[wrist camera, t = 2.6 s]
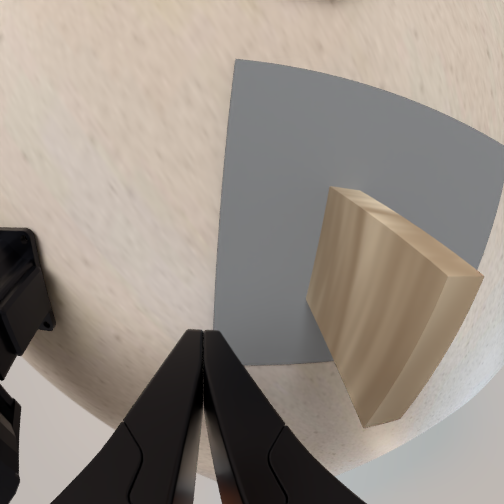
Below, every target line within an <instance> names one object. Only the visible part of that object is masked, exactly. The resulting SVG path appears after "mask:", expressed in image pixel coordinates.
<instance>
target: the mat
mask: <svg viewBox="0 0 504 504" xmlns="http://www.w3.org/2000/svg"><path fill="white" fill-rule="evenodd" d="M503 184H504V145H502V144H500V143H499V142H497V141H495V140H494V139H492V138H490V137H488V136H487V135H485V134H483V133H481V132H479V131H478V130H476V129H474V128H472V127H470V126H468V125H466V124H464V123H462V122H460V121H458V120H456V119H454V118H452V117H450V116H448V115H445V114H443V113H441V112H439V111H437V110H434V109H432V108H430V107H427V106H425V105H422V104H420V103H417V102H415V101H412V100H410V99H407V98H405V97H402V96H399V95H396V94H394V93H391V92H388V91H385V90H382V89H379V88H376V87H373V86H369V85H366V84H363V83H359V82H356V81H352V80H349V79H345V78H341V77H337V76H333V75H329V74H325V73H321V72H316V71H312V70H307V69H302V68H297V67H291V66H285V65H279V64H273V63H266V62H258V61H250V60H241V59H236V60H235V66H234V74H233V83H232V91H231V100H230V109H229V119H228V128H227V138H226V148H225V159H224V170H223V182H222V194H221V206H220V220H219V233H218V248H217V264H216V282H215V301H214V322H213V330H218V331H220V332H221V333H222V335H223V336H224V338H225V339H226V341H227V342H228V344H229V345H230V347H231V348H232V350H233V351H234V353H235V354H236V356H237V357H238V359H239V360H240V362H241V363H242V364H243V365H281V364H301V363H316V362H328V361H334V360H333V357H332V355H331V353H330V351H329V348H328V346H327V344H326V342H325V340H324V337H323V335H322V333H321V331H320V329H319V327H318V324H317V322H316V320H315V318H314V316H313V314H312V311H311V309H310V307H309V305H308V303H307V301H306V296H307V292H308V288H309V283H310V279H311V275H312V270H313V266H314V262H315V257H316V252H317V248H318V243H319V238H320V234H321V229H322V224H323V219H324V214H325V208H326V203H327V198H328V192H329V187H330V186H332V187H340V188H347V189H354V190H360V191H362V192H364V193H365V194H367V195H369V196H370V197H372V198H374V199H375V200H377V201H379V202H380V203H382V204H383V205H385V206H387V207H388V208H390V209H391V210H393V211H395V212H396V213H398V214H399V215H401V216H402V217H404V218H405V219H407V220H408V221H410V222H411V223H413V224H414V225H416V226H417V227H419V228H420V229H422V230H423V231H425V232H426V233H428V234H429V235H430V236H432V237H433V238H435V239H436V240H438V241H439V242H440V243H442V244H443V245H444V246H446V247H447V248H449V249H450V250H451V251H453V252H454V253H455V254H457V255H458V256H459V257H461V258H462V259H463V260H465V261H466V262H467V263H468V264H470V265H471V266H472V267H473V268H475V269H476V270H477V269H478V266H479V264H480V261H481V258H482V256H483V253H484V250H485V247H486V244H487V241H488V238H489V235H490V232H491V229H492V226H493V223H494V219H495V216H496V212H497V208H498V205H499V201H500V197H501V193H502V188H503Z"/></svg>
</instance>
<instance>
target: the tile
mask: <svg viewBox="0 0 504 504" xmlns="http://www.w3.org/2000/svg"><path fill="white" fill-rule="evenodd" d="M483 278H484V276H483V275H482V274H481V273H480V272H479V271H477V270H476V269H475V268H473V267H472V266H471V265H470V264H468V263H467V262H466V261H465V260H463V259H462V258H461V257H459V256H458V255H457V254H455V253H454V252H453V251H451V250H450V249H449V248H447V247H446V246H444V245H443V244H442V243H440V242H439V241H438V240H436V239H435V238H433V237H432V236H430V235H429V234H428V233H426V232H425V231H423V230H422V229H420V228H419V227H417V226H416V225H414V224H413V223H411V222H410V221H408V220H407V219H405V218H404V217H402V216H401V215H399V214H398V213H396V212H395V211H393V210H391V209H390V208H388V207H387V206H385V205H383V204H382V203H380V202H379V201H377V200H375V199H374V198H372V197H370V196H369V195H367V194H365V193H364V192H362V191H360V190H354V189H347V188H340V187H332V186H330V187H329V192H328V198H327V203H326V208H325V214H324V219H323V224H322V229H321V234H320V238H319V243H318V248H317V252H316V257H315V262H314V266H313V270H312V275H311V279H310V283H309V288H308V292H307V296H306V301H307V303H308V305H309V307H310V309H311V311H312V314H313V316H314V318H315V320H316V322H317V324H318V327H319V329H320V331H321V333H322V335H323V337H324V340H325V342H326V344H327V346H328V348H329V351H330V353H331V355H332V357H333V360H334V362H335V364H336V366H337V369H338V371H339V373H340V375H341V378H342V380H343V382H344V384H345V387H346V389H347V391H348V394H349V396H350V398H351V400H352V403H353V405H354V407H355V410H356V412H357V414H358V417H359V419H360V421H361V424H362V426H363V428H368V427H372V426H376V425H380V424H384V423H387V422H391V421H395V420H398V419H400V418H401V417H402V416H403V414H404V413H405V412H406V411H407V409H408V408H409V407H410V405H411V404H412V403H413V401H414V400H415V399H416V397H417V396H418V395H419V393H420V392H421V390H422V389H423V387H424V386H425V385H426V383H427V382H428V380H429V379H430V377H431V376H432V374H433V373H434V371H435V370H436V368H437V366H438V365H439V363H440V362H441V360H442V358H443V357H444V355H445V353H446V352H447V350H448V348H449V347H450V345H451V343H452V341H453V340H454V338H455V336H456V334H457V332H458V331H459V329H460V327H461V325H462V323H463V321H464V319H465V317H466V315H467V313H468V311H469V309H470V307H471V305H472V303H473V301H474V299H475V296H476V294H477V292H478V290H479V288H480V285H481V283H482V281H483Z"/></svg>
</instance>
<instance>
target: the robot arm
mask: <svg viewBox="0 0 504 504" xmlns="http://www.w3.org/2000/svg"><path fill="white" fill-rule="evenodd" d="M24 236H26V238H27V240H26V239H25V237H24ZM55 325H56V322H55V319H54V315H53V312H52V309H51V305H50V301H49V298H48V294H47V290H46V286H45V283H44V279H43V274H42V271H41V267H40V263H39V258H38V253H37V248H36V243H35V237H34V234H33V232H32V231H31V230H30V229H28V228H7V227H0V380H1V381H3V380H4V379H5V377H6V375H7V373H8V371H9V369H10V367H11V365H12V364H13V362H14V360H15V358H16V356H22V355H23V353H24V351H25V350H26V348H27V346H28V345H29V343H30V341H31V339H32V338H33V336H34V334H35V333H36V331H37V329H40V330H46V331H52V330H53V329H54V327H55ZM203 402H204V414H205V420H206V426H207V432H208V438H209V443H210V448H211V454H212V459H213V464H214V469H215V474H216V478H217V483H218V487H219V492H220V496H221V501H222V504H367V503H365V502H364V501H363V500H361V499H360V498H359V497H358V496H357V495H355V494H354V493H353V492H352V491H351V490H349V489H348V488H347V487H346V486H345V485H344V484H342V483H341V482H340V481H339V480H338V479H337V478H336V477H334V476H333V475H332V474H331V473H330V472H329V471H328V470H327V469H326V468H325V467H323V466H322V465H321V464H320V463H319V462H318V461H317V460H316V459H315V458H314V457H313V456H312V455H311V454H310V453H309V451H308V450H307V449H306V448H305V447H304V446H303V445H302V443H301V442H300V441H299V440H298V439H297V437H296V436H295V435H294V434H293V432H292V431H291V430H290V428H289V427H288V426H285V422H284V421H283V420H282V418H281V417H280V416H279V414H278V413H277V412H276V410H275V409H274V408H273V406H272V405H271V404H270V402H269V401H268V399H267V398H266V397H265V395H264V394H263V393H262V391H261V390H260V388H259V387H258V386H257V384H256V383H255V382H254V380H253V379H252V377H251V376H250V374H249V373H248V372H247V370H246V369H245V367H244V366H243V364H242V363H241V362H240V360H239V359H238V357H237V356H236V354H235V353H234V351H233V350H232V348H231V347H230V345H229V344H228V342H227V341H226V339H225V338H224V336H223V335H222V333H221V332H220V331H218V330H205V331H204V332H203V331H202V330H196V329H188V330H186V332H185V333H184V334H183V336H182V337H181V339H180V340H179V341H178V343H177V344H176V346H175V347H174V348H173V350H172V351H171V353H170V354H169V355H168V357H167V358H166V360H165V361H164V362H163V364H162V365H161V367H160V368H159V370H158V371H157V372H156V374H155V375H154V377H153V378H152V379H151V381H150V382H149V384H148V385H147V387H146V388H145V389H144V391H143V392H142V394H141V395H140V396H139V398H138V399H137V401H136V402H135V404H134V405H133V406H132V408H131V409H130V411H129V412H128V414H127V415H126V416H125V418H124V419H123V421H124V422H121V423H120V425H119V426H118V428H117V429H116V430H115V432H114V433H113V435H112V436H111V437H110V439H109V440H108V441H107V443H106V444H105V445H104V447H103V448H102V449H101V451H100V452H99V453H98V454H97V455H96V456H95V457H94V458H93V459H92V461H91V462H90V463H89V464H88V465H87V466H86V467H85V468H84V469H83V470H82V472H81V473H80V474H79V475H78V476H77V477H76V478H75V479H74V480H73V481H72V482H71V483H70V484H69V485H68V486H67V487H66V488H65V489H64V490H63V491H62V492H61V494H60V495H59V496H57V497H56V498H55V500H53V501H52V502H51V503H50V504H193V500H194V489H195V479H196V470H197V460H198V451H199V442H200V433H201V425H202V416H203ZM20 416H21V406H20V404H19V403H18V402H17V401H16V400H15V399H14V398H12V397H11V396H10V395H9V394H8V393H7V392H6V390H5V389H4V388H3V387H2V385H1V384H0V504H9V503H10V501H11V500H12V498H13V497H14V495H15V494H16V491H17V489H18V486H19V483H20V477H19V430H20Z"/></svg>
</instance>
